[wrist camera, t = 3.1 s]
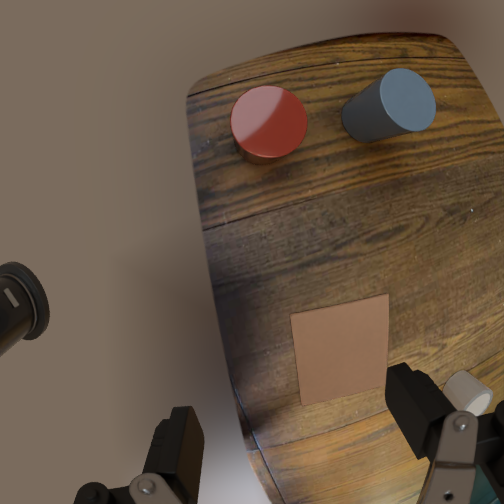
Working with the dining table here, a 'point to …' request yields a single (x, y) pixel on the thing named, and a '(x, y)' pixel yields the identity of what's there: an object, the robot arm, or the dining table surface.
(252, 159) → the glossy red cylinder
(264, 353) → the dining table surface
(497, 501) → the flower pot
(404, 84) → the grey upright cylinder
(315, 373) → the terracotta mat
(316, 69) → the dining table surface
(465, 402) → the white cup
